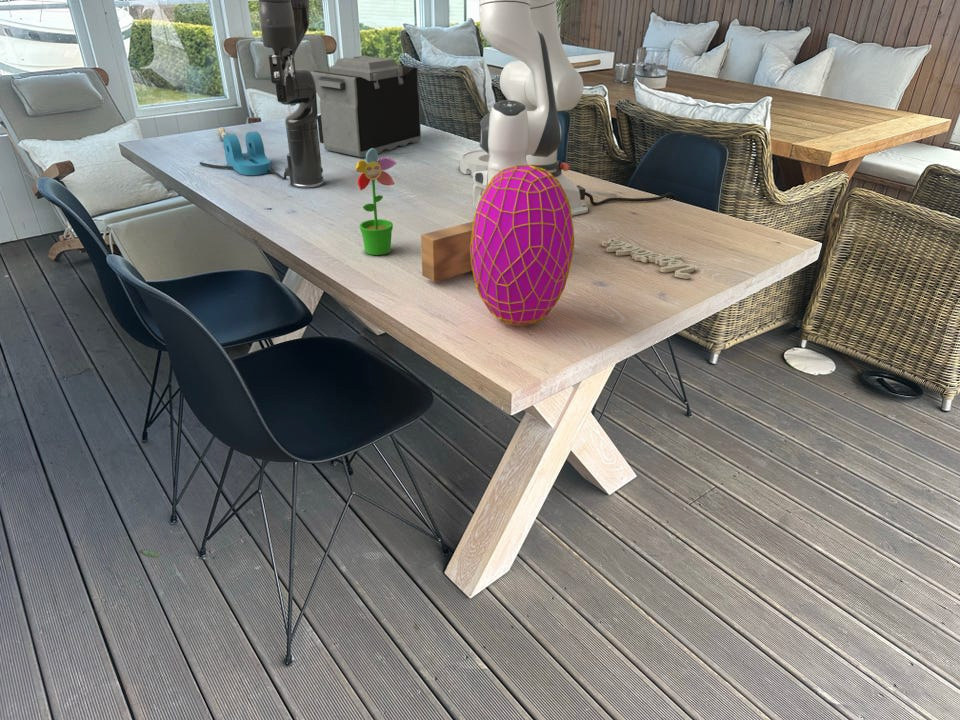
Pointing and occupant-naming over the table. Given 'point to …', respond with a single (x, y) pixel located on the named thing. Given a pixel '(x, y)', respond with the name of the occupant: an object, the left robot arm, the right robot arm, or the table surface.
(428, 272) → the bar
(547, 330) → the table surface
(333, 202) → the table surface
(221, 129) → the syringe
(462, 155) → the ashtray
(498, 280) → the decorative egg
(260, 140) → the camera mount
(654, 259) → the decorative sign
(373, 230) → the potted flower
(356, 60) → the electronic device
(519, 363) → the table surface
